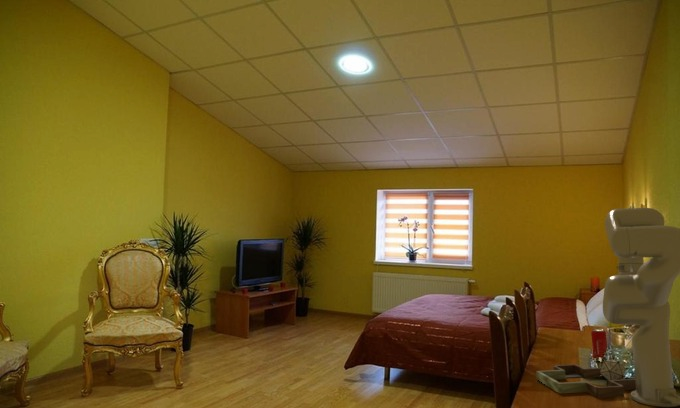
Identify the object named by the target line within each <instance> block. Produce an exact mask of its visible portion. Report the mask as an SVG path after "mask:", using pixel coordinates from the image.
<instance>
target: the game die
mask: <svg viewBox="0 0 680 408" xmlns="http://www.w3.org/2000/svg"><path fill="white" fill-rule="evenodd" d="M602 361H603V362H601V363H602V364H599V366H600V368H601V369H600V372H598V373H597V374H601V375H602V376H604V377H603V378H604V379H605V381H608V380H620V379H626V376H625V373H626V370H628V367H624V366H623V365H622V364H620V360H615V357H614V356H613V357H612V358H611V359H608V360H605V361H604V360H603V359H602Z"/></svg>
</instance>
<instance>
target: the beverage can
mask: <svg viewBox="0 0 680 408" xmlns="http://www.w3.org/2000/svg"><path fill="white" fill-rule="evenodd" d="M590 334H591V346H592V347H591V349H592V357H593V359H594V358H596V357H603V356H604V355H605V353H606V349H607V350H608V342H607V341H608V340H607V332H606V330H605V329H602V328H601V329H600V328H599V329H598V328H593V329H591V333H590Z"/></svg>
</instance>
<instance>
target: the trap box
mask: <svg viewBox="0 0 680 408" xmlns="http://www.w3.org/2000/svg"><path fill="white" fill-rule="evenodd" d="M600 369H601V367H591V368H589V367H588V368H585V367H583V366H581V365H578V364H575V363H574V364H558V365H553V369H552V370H551V369H550V370H536V371H535V373H536V374H535V376H536V380H537V381H538V380H539V381H540V382H539V381H538V382H539V383H541V382H542V383H541V384H542V385H544V384H545V386H546V387H548V388H549V389H551V390H552V391H554V392H556V393H558V394H560V395H561V394H574V393H578V394H579V393H588V394H589V395H591V396H593V397H595V398H599V399H600V398H601V399H602V398H604V399H605V398H620V397H622V398H623V397H625V392H624V391H627V390H629V391H630V390H631V391H633V390H636V383H635V378H623V379H620V380H607V386H597V385H595V384H594V383H591V382H589V381H586V380H584V381H571V382H559V380H566V379H574V378H575V379H576V378H584V379H594V378H595V377H598V378H600V377H599V376H600V375H601V374H597V373H598V372H600ZM595 379H596V378H595Z"/></svg>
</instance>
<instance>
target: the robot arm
mask: <svg viewBox="0 0 680 408" xmlns="http://www.w3.org/2000/svg"><path fill="white" fill-rule="evenodd" d="M665 223H666V221H665V217H664V216H663V214H662V213H661V211H659V210H658V209H655V208H652V207H632V208H631V207H630V208H615V209H612V210H610V211H609V212H608V213H607V214H606V217H605V220H604V226H605V227H604V228H605V232H606V236H607V239H608V243H609V246H610V250H611V252H612V253H613V254H614V256H616V257H617V260H618V265H616V270H618V272H617V274H615V275H612V276H609V277H608V278H607V279H606V281H605V284H604V290H603V297H602V298H603V299H602V313H603V316H604V317H603V318H605V320H606V321H607V322H608V323H610V324H613V325H625V326H628V325H629V326H639V328H637V330H636V331H635V332H634V333H633V335H632V339H631V347H632V358H633V368H634V369H633V370H634V379H635V383H636V389H634V390H631V392H630V398H631V399H632V400H634V401H635V402H638V403H640V404H644V405H647V406H652V407H660V408H661V407H662V408H673V407H679V406H680V395H677V390H676V388H674V379H673V367H672V356H671V345H670V344H671V343H670V320H671V318H670V317H671V305H670V302H669V298H670V295H671V293H672V288H673V285H674V283H675V281H676V279H677V278H678V276H680V228H679V227H676V226H671V225H665ZM644 258H650V259H648V260H646V261H645V260H644Z"/></svg>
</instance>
